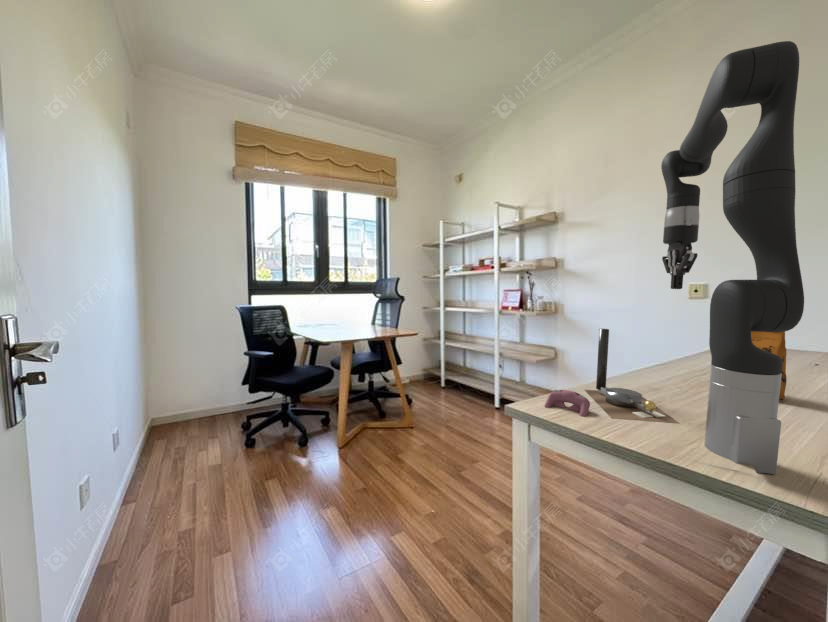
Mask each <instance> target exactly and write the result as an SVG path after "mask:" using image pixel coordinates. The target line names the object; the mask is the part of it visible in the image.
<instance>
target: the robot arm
mask: <svg viewBox="0 0 828 622" xmlns="http://www.w3.org/2000/svg"><path fill="white" fill-rule="evenodd" d="M799 52H800V51H799V48H798V45H797V44H796V43H795V42H793V41H791V40H786V41H777V42H772V43H768V44H763V45H759V46H758V45H757V46H754V47H748V48H744V49H741V50H736V51H733V52H730V53H728V54H727V55H725V56H724V57H722V59H721V60H719V63H718V64H717V65H716V67H715V69H714V70H713V72H712V75H711V77H710V78H709V82H708V84H707V87H706V90H705V92H704V95H703V98H702V100H701V102H700V105H699V108H698V111H697V113H696V116H695V118H694V119H695V120H694V121H693V123H692V126H691V128H690V130H689V131H688V133H687V134H686V136H685V137H684V139H683V140H682V143H681V144H680V147H679V149H676V150H672V151H669V152H668V153H666V155H665V156H664V157H663V159H662V161H661V165H660V166H661V167H660V169H661V173H662V177H663V180H664V183H665V188H666V196H667V197H666V211H665V215H664V220H663V221H664V223H663V224H664V226H663V238H662V239H663V240H662V241H663V242H662V243H663V244H664V245H668V248H667V252H666V253H667V255H666V256H665V255H664V256H662V258H661V260H662V262H663V266H664V268H665V272H666V273H667V274H669V275H670V277H671V278H670V289H671V290H681V289H683V284H684V283H683V282H684V276H685V275H686V274H689V273H690V271H691V270H692V267H693V265H694V264H695V261H696V260H697V258H698V253H697V252H696V253H695V252H693V251H692V250H693V246H692V245H693V244H694V243H697V242H698V240H699V229H700V200H701V187H700V186H699V185H697V184H692V183H686V182H683V181H682V180H681V179H680V178H688V177H689V178H690V177H699V176H700V175H703V174H705V173H706V172H707V171H708V170H709V169H710V166H711V164H712V157H713V155H714V154H713V153H714V151H715V150H716V149H717V147H718V146H719V145H720V144H721V143H722V142H723V140H724V138H725V137H726V135H727V132H728V126H729V125H728V121H727V118H726V116H725V115H724V113H723V112H722V110H723V109H733V108H738V107H739V108H740V107H745V106H751V105H757V104H759V105H760V110H761V111H760V118H759V121H758V125H757V127H756V129H755V130H754V132H753V134H752V136H751V137H750V138H749V139H748V140H747V142H746V143H745V144H744V146H743V148H742V149H741V150H740V151H739V152H738V154H737V155H736V156H735V157H734V159H733V161H732V162H731V163H730V164H729V166H728V168H727V170H726V171H725V173H724V175H723V181H722V210H723V211H722V212H723V215H724V216H725V219H726V220H727V222H728V223H729V225H730V226H731V227H732V229H733V230H734V232H736V233H737V235H738V236H739V237H740V238H741V240H742V241H743V242H744V244H745V245H746V246H747V247H748V249H749V251H750V252H751V254H752V256H753V261H754V265H755V269H756V270H755V271H756V279H729V280H728V279H727V280H724V281H722V282H721V283H719V284H718V285H717V286H716V288H715V289H714V290H713V293H712V295H711V297H710V298H711V299H710V304H709V341H708V342H709V343H708V344H709V351H710V355H711V361H710V363H711V364H710V374H709V387H708V399H707V410H706V419H705V433H704V447H705V448H706V449H707V450H708V451H710V452H712V453H713V454H715V455H717V456H719V457H722V458H725V459H727V460H730V461H731V462H733V463H734V464H738V465H739V464H741V465H751V466H752V467H753V469H754V471H755V473H758V474H759V473H760V474H771V475H776V474H777V467H778V457H779V448H780V438H781V428H782V421H781V420H780V419H778V414H779V413H778V412H779V403H780V399H779V395H780V386H781V377H782V367H783V361H782V359H781V357H779V356H778V355H776V354H773V353H770V352H767V351H764V350H761V349H759V348H758V347H756V346H755V345H754V344H753V343H752V339H751V331H756V332H785V333H786V332H788V331H790V330H793V329H794V328H795V327H797V325H798V324H799V322H801V319H802V317H803V314H804V311H805V310H804V309H805V308H804V307H805V293H804V283H803V279H802V273H801V266H800V261H799V253H798V247H797V232H796V230H797V229H796V168H795V167H796V166H795V165H796V164H795V146H794V145H795V141H794V140H795V139H794V138H795V137H794V136H795V131H794V130H795V111H796V103H797V102H796V101H797V93H798V92H797V91H798V84H799V83H798V82H799V74H800V73H799V71H800V53H799Z"/></svg>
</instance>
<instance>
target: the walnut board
mask: <svg viewBox="0 0 828 622" xmlns="http://www.w3.org/2000/svg"><path fill="white" fill-rule="evenodd" d="M583 390H584V392H586V394H587V395H588V396H589V397H590V398H591V399H592V400H593V401H594V402H595V403H596V404H597V405H598V406H599V408H601V410H603V411H604V412H605V413H606V414H607V415H608V416H609V417H610V418H611V419H614V420H615V419H617V420H630V421H642V422H645V421H646V422H654V423H656V422H657V423H665V424H666V423H667V424H669V423H670V424H681V423H680V422H678V421H677V420H676V419H675V418H673V417H672V416H670V415H669V414H667V413H666V412H665V411H663V410H662V409H660V408H659V407H658V406H656V409H655V410H654V411H653V413H649V412H647V411H644V410H642V409H640V408H638V407H636V408H630V407H622V406H617V405H614V404H611V403H609V402H607V401H606V400H605V395H603V394H601V393H599V392H598V389H583ZM646 401H649V400H648V399H646V398H645V397H644V396H642V404H643V405H644V403H645V402H646Z"/></svg>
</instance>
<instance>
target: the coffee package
mask: <svg viewBox="0 0 828 622" xmlns="http://www.w3.org/2000/svg"><path fill="white" fill-rule="evenodd" d="M751 339H752V343H753V344H754V345H755V346H756V347H758V348H759V349H761V350H764V351H767V352H770V353H773V354H776V355H778V356H779V357H781V359H782V361H783V367H782V377H781V386H780V395H779V400H784V399H785V397H786V395H785V393H786V387H787V371H786V370H787V348H786V331H785V332H756V331H751Z"/></svg>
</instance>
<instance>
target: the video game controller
mask: <svg viewBox="0 0 828 622" xmlns="http://www.w3.org/2000/svg"><path fill="white" fill-rule="evenodd" d="M566 403H569V404H572V405H570V407H569V408H568V410H572V411H575V412H579V416H580V417H586V416H588V413H589V411H590V407H591V403H590V400H589V399H588V398H587V397H586V396H585V395H584V394H581V393H579V392H576V391H573V390H568V389H554V390H553V391H551V392H550V393H549V395H548V396H547V399H546V401H545V404H544V406H543V407H544V408H546V409H548V408H551V407H553V406H555V407H558V408H564V409H566V407H567V406H566Z"/></svg>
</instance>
